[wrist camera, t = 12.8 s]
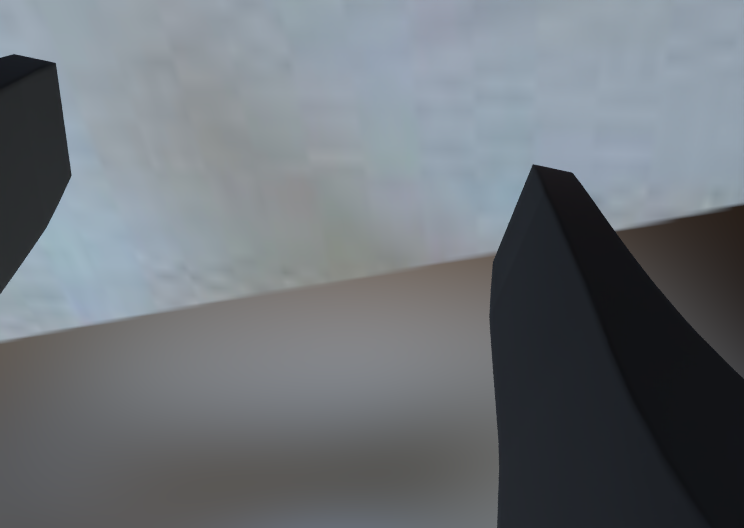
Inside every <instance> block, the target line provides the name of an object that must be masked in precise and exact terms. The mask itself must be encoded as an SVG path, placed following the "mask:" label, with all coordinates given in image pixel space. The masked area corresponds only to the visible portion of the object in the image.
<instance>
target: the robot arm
mask: <svg viewBox="0 0 744 528" xmlns="http://www.w3.org/2000/svg"><path fill="white" fill-rule="evenodd" d="M70 178H71V169H70V161H69V154H68V147H67V140H66V133H65V126H64V119H63V111H62V104H61V97H60V90H59V83H58V76H57V69H56V63H53V62H48V61H44V60H39V59H34V58H30V57H25V56H20V55H15V54H13V55H9V56H6V57H2V58H0V294H1V292H2V291H3V289H4V288H5V287H6V285H7V284H8V282H9V281H10V280H11V278H12V277H13V275H14V274H15V272H16V271H17V270H18V268H19V267H20V265H21V264H22V262H23V261H24V260H25V258H26V257H27V255H28V254H29V252H30V251H31V249H32V248H33V247H34V245H35V244H36V242H37V241H38V239H39V238H40V236H41V235H42V233H43V232H44V230H45V229H46V227H47V225H48V223H49V221H50V219H51V217H52V215H53V213H54V212H55V210H56V208H57V206H58V204H59V201H60V199H61V197H62V195H63V193H64V191H65V188H66V186H67V184H68V182H69V180H70ZM490 334H491V348H492V361H493V374H494V387H495V400H496V414H497V425H498V426H497V427H498V440H499V491H498V520H497V528H744V379H743V378H742V377H741V376H740V375H739V374H738V373H737V372H736V371H735V370H734V369H733V368H732V367H731V366H730V365H729V364H728V363H727V362H726V361H725V360H724V359H723V358H722V357H721V356H720V355H719V354H718V353H717V352H716V351H715V350H714V349H713V348H712V347H711V346H710V345H709V344H708V343H707V342H706V341H705V340H704V339H703V338H702V337H701V336H700V335H699V334H698V333H697V332H696V331H695V330H694V329H693V328H692V326H691V325H690V324H689V323H688V322H687V321H686V320H685V319H684V318H683V317H682V315H681V314H680V313H679V312H678V311H677V310H676V308H675V307H674V306H673V305H672V304H671V303H670V301H669V300H668V299H667V298H666V297H665V296H664V294H663V293H662V292H661V291H660V290H659V289H658V287H657V286H656V285H655V284H654V282H653V281H652V280H651V279H650V277H649V276H648V275H647V274H646V272H645V271H644V270H643V269H642V267H641V266H640V265H639V263H638V262H637V261H636V259H635V258H634V257H633V255H632V254H631V253H630V252H629V250H628V249H627V247H626V246H625V245H624V243H623V242H622V241H621V239H620V238H619V236H618V235H617V234H616V232H615V231H614V230H613V228H612V227H611V225H610V224H609V223H608V221H607V220H606V218H605V217H604V216H603V214H602V213H601V211H600V210H599V208H598V207H597V206H596V204H595V203H594V201H593V200H592V199H591V197H590V196H589V194H588V193H587V192H586V190H585V189H584V187H583V186H582V185H581V183H580V182H579V181H578V179H577V178H576V177H575V176H574V174H573V173H571V172H566V171H562V170H557V169H552V168H548V167H543V166H538V165H534V164H533V166H532V168H531V170H530V173H529V175H528V178H527V180H526V183H525V185H524V188H523V190H522V192H521V195H520V197H519V200H518V202H517V205H516V207H515V210H514V212H513V214H512V217H511V219H510V222H509V224H508V227H507V229H506V232H505V234H504V236H503V239H502V241H501V244H500V246H499V249H498V251H497V254H496V256H495V259H494V261H493V269H492V283H491V298H490Z"/></svg>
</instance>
